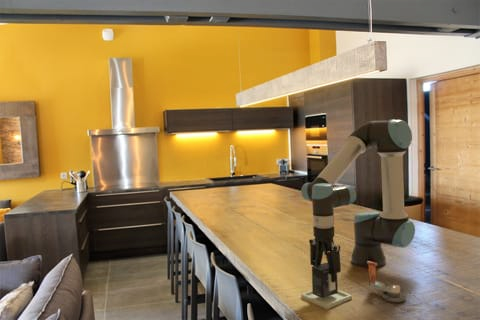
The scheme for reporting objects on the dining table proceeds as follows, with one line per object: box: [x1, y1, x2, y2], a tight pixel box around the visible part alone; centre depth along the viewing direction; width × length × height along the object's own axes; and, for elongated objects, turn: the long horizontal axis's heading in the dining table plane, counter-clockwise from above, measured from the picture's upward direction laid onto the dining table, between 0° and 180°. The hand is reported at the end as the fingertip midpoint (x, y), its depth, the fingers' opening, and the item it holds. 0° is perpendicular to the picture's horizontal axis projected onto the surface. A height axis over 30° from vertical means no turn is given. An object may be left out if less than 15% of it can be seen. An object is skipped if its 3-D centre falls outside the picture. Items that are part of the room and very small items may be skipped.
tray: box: [300, 289, 353, 310], centre depth 149 cm, size 13×13×1 cm
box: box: [311, 261, 339, 298], centre depth 149 cm, size 8×6×11 cm
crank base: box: [381, 291, 407, 304], centre depth 146 cm, size 8×8×1 cm
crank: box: [367, 261, 401, 297], centre depth 149 cm, size 13×4×10 cm, turn 36°
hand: (325, 287), depth 149 cm, fingers closed on box, 6 cm apart
